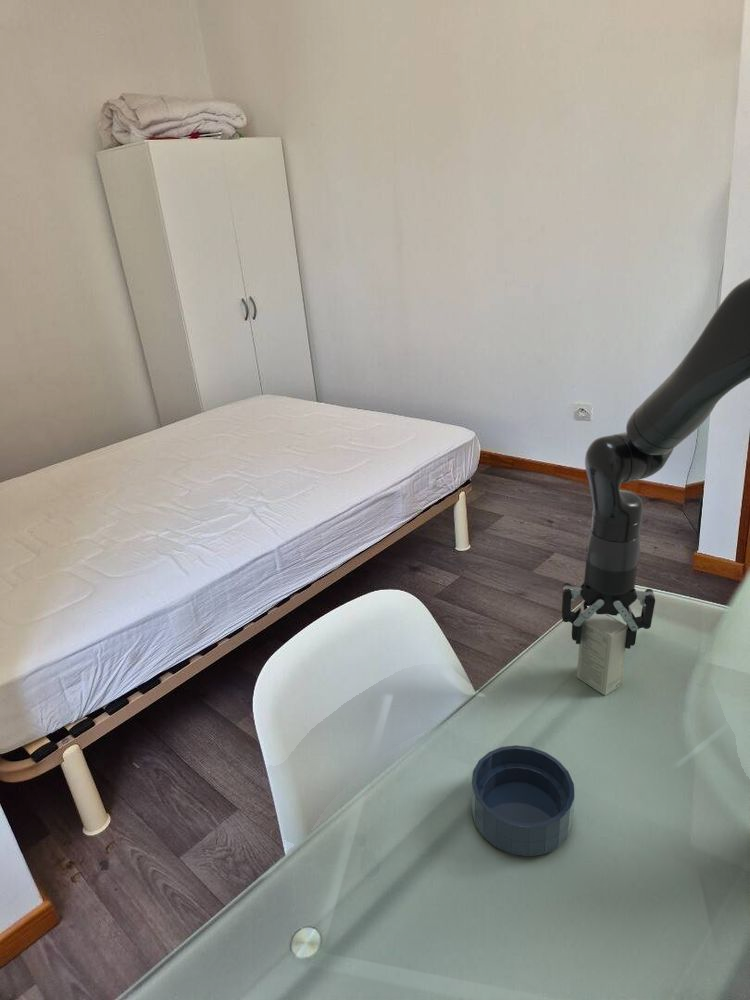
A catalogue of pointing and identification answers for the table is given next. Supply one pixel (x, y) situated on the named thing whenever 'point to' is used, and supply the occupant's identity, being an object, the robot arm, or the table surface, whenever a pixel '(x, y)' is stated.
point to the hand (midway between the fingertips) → (602, 643)
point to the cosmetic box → (602, 652)
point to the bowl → (522, 800)
